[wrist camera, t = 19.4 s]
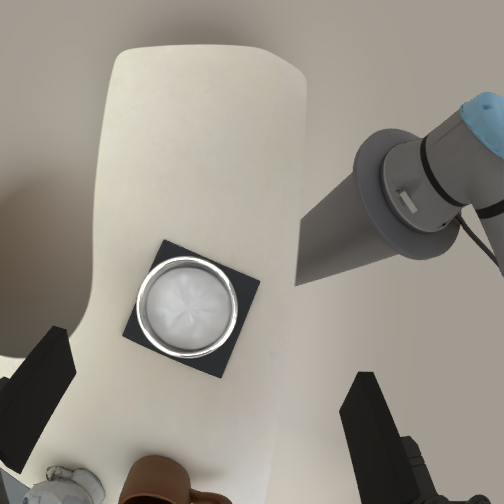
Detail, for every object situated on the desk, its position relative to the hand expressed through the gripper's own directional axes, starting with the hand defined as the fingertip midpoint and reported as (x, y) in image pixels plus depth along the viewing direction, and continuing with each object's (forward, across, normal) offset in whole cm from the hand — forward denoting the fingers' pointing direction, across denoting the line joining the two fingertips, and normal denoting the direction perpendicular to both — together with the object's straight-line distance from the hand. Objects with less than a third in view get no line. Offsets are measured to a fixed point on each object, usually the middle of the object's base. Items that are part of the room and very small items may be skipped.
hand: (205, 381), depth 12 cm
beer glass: (+20, -4, -9) cm, 22 cm away
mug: (+8, -3, -28) cm, 29 cm away
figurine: (+4, -17, -32) cm, 36 cm away
